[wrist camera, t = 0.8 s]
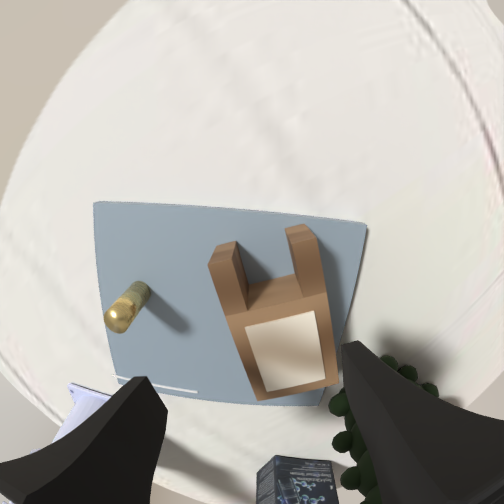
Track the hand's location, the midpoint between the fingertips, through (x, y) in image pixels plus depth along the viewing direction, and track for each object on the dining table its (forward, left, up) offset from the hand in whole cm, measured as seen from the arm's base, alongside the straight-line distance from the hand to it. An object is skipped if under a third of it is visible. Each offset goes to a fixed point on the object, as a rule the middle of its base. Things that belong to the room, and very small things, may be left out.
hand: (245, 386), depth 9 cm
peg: (-1, +7, -10) cm, 12 cm away
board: (-3, +2, -10) cm, 11 cm away
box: (-25, -8, -10) cm, 28 cm away
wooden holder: (-1, -2, -9) cm, 9 cm away
